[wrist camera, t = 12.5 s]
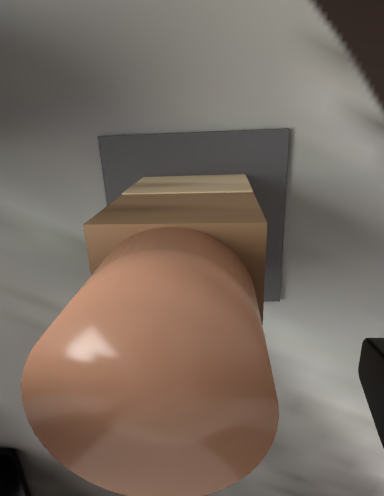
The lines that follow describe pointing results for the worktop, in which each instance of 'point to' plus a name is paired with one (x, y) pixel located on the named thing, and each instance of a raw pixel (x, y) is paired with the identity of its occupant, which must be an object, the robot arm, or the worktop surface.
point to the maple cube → (191, 184)
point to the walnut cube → (186, 225)
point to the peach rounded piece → (157, 371)
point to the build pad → (209, 172)
